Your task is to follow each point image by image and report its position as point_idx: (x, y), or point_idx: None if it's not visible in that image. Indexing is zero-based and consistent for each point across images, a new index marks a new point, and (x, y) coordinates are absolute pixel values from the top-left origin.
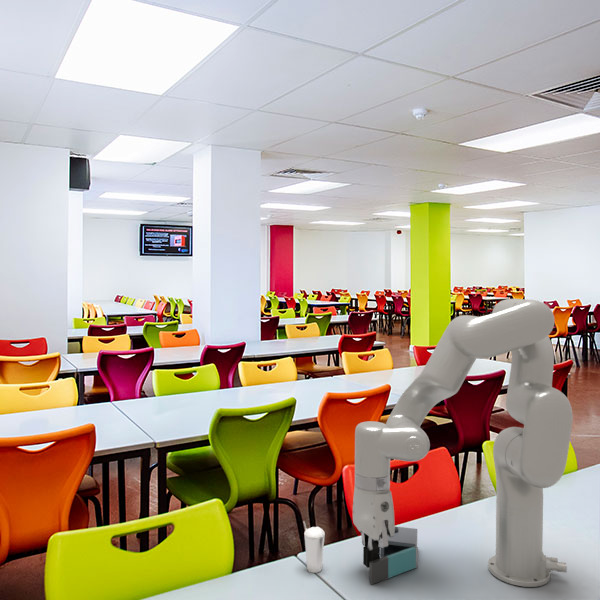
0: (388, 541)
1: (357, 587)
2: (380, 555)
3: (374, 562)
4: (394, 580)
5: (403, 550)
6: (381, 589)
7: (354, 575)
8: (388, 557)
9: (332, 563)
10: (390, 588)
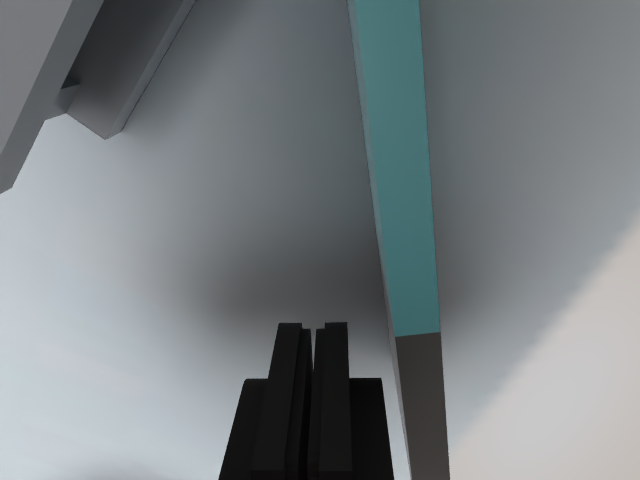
0: (29, 98)
1: (388, 424)
2: (63, 112)
3: (444, 475)
4: (437, 185)
5: (364, 26)
6: (485, 325)
7: None
8: (435, 327)
9: (78, 421)
10: (510, 270)
